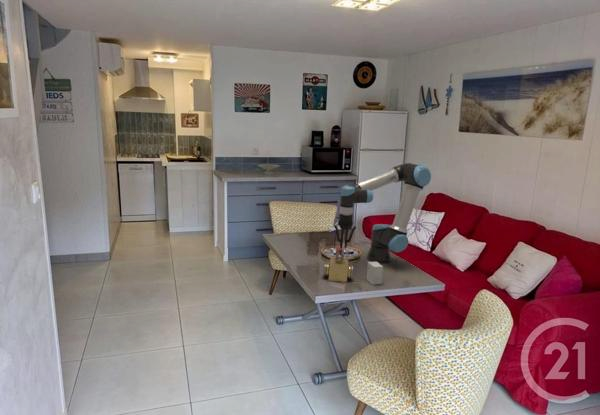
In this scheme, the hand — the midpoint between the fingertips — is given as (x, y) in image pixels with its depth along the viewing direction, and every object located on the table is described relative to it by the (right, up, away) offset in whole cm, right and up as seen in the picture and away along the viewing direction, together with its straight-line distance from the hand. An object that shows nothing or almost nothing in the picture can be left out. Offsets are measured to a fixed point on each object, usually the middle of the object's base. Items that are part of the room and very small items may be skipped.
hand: (342, 253), depth 240 cm
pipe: (-4, -13, -8) cm, 16 cm away
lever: (-3, -1, -4) cm, 5 cm away
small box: (+16, -15, -10) cm, 24 cm away
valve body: (-4, -13, -8) cm, 16 cm away
